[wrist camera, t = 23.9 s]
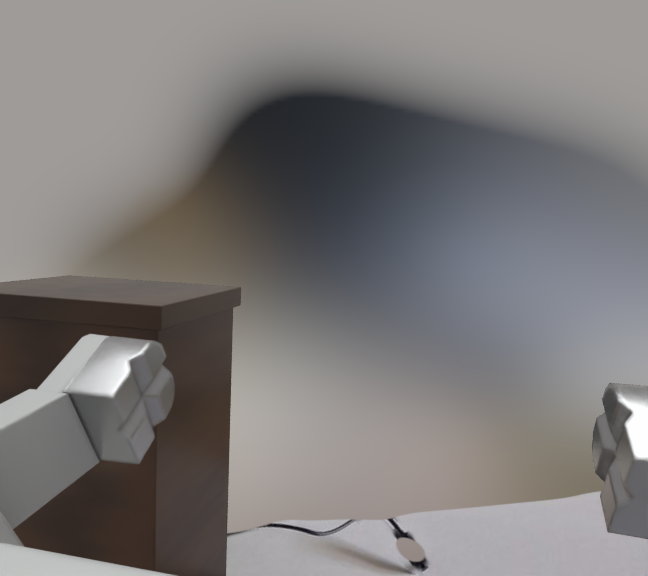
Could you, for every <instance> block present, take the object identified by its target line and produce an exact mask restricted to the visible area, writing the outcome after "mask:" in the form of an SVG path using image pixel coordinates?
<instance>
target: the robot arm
mask: <svg viewBox="0 0 648 576" xmlns="http://www.w3.org/2000/svg"><path fill="white" fill-rule="evenodd" d="M166 357H167V356H166V354H165V351H164V348H163V345H162V344H161V343H159V342H157V341H151V340H142V339H134V338H125V337H117V336H104V335H96V334H88V335H86V336H84V337H82V338H81V339H80V340H79V341H78V343H77V344H76V345H75V346H74V347H73V348H72V349H71V351H70V352H69V353H68V354H67V355H66V356H65V358H64V359H63V360H62V361H61V362H60V363H59V364H58V366H57V367H56V368H55V369H54V370H53V371H52V373H51V374H50V375H49V376H48V377H47V378H46V379H45V381H44V382H43V383H42V384H41V385H40V386H39V387H38V389H37V390H35V389H29V390H27V391H25V392H23V393H21V394H19V395H17V396H15V397H13V398H11V399H9V400H7V401H5V402H3V403H1V404H0V576H176V575H171V574H166V573H160V572H155V571H150V570H144V569H139V568H134V567H129V566H123V565H118V564H113V563H107V562H102V561H97V560H91V559H86V558H81V557H76V556H70V555H65V554H60V553H54V552H49V551H44V550H38V549H33V548H28V547H24V545H23V544H22V542H21V541H20V539H19V538H18V536H17V535H16V534H15V532H14V531H13V529H14V528H16V527H17V526H18V525H19V524H21V523H22V522H23V521H25V520H26V519H27V518H28V517H30V516H31V515H32V514H33V513H35V512H36V511H37V510H39V509H40V508H41V507H42V506H44V505H45V504H46V503H48V502H49V501H50V500H51V499H53V498H54V497H55V496H57V495H58V494H59V493H60V492H62V491H63V490H64V489H66V488H67V487H68V486H69V485H71V484H72V483H73V482H75V481H76V480H77V479H78V478H80V477H81V476H82V475H84V474H85V473H86V472H87V471H89V470H90V469H91V468H93V467H94V466H95V465H96V464H98V463H99V460H106V461H115V462H123V463H132V464H140V462H141V460H142V459H143V457H144V455H145V454H146V452H147V450H148V448H149V447H150V445H151V443H152V442H153V440H154V438H155V434H154V430H153V427H154V426H156V425H157V424H159V423H160V422H162V421H163V420H165V419H166V417H167V415H168V413H169V412H170V410H171V408H172V404H173V400H174V395H175V384H174V379H173V376H172V373H171V372H170V371H169V370H168V369H167V368H166V367H165V366H164V365H163V364H162V363H163V362H164V360H165V358H166ZM602 400H603V405H604V409H605V413H604V414H602V415H600V416H599V417H598V418H597V419H596V423H595V427H594V431H593V442H592V453H593V462H594V468H595V473H596V474H597V475H598V476H599V477H600V478H601V479H602V480H603V481H604V485H603V489H602V492H601V495H600V498H601V503H602V507H603V512H604V517H605V522H606V526H607V531H608V532H609V533H615V534H621V535H627V536H633V537H639V538H645V539H648V386H640V385H629V384H617V383H609V384H608V386H607V387H606V389H605V392H604V395H603V399H602Z"/></svg>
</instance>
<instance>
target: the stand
mask: <svg viewBox="0 0 648 576" xmlns="http://www.w3.org/2000/svg"><path fill="white" fill-rule="evenodd" d="M240 303H241V287H232V286H218V285H202V284H188V283H173V282H157V281H143V280H128V279H113V278H98V277H83V276H61V277H51V278H41V279H31V280H21V281H11V282H1V283H0V404H1V403H3V402H5V401H7V400H9V399H11V398H13V397H15V396H17V395H19V394H21V393H23V392H25V391H27V390H29V389H35V390H37V389H38V387H39V386H40V385H41V384H42V383H43V382H44V381H45V379H46V378H47V377H48V376H49V375H50V374H51V373H52V371H53V370H54V369H55V368H56V367H57V366H58V364H59V363H60V362H61V361H62V360H63V359H64V358H65V356H66V355H67V354H68V353H69V352H70V351H71V349H72V348H73V347H74V346H75V345H76V344H77V343H78V341H79V340H80V339H81V338H82V337H84V336H86V335H88V334H96V335H104V336H117V337H125V338H134V339H142V340H151V341H157V342H159V343H161V344H162V345H163V348H164V351H165V354H166V356H167V357H166V358H165V360H164V362H163V363H162V364H163V365H164V366H165V367H166V368H167V369H168V370H169V371H170V372H171V373H172V376H173V379H174V384H175V395H174V400H173V404H172V408H171V410H170V412H169V413H168V415H167V417H166V419H165V420H163V421H162V422H160V423H159V424H157V425H156V426H154V427H153V430H154V434H155V438H154V440H153V442H152V443H151V445H150V447H149V448H148V450H147V452H146V454H145V455H144V457H143V459H142V460H141V462H140V464H132V463H123V462H115V461H106V460H99V463H98V464H96V465H95V466H94V467H93V468H91V469H90V470H89V471H87V472H86V473H85V474H84V475H82V476H81V477H80V478H78V479H77V480H76V481H75V482H73V483H72V484H71V485H69V486H68V487H67V488H66V489H64V490H63V491H62V492H60V493H59V494H58V495H57V496H55V497H54V498H53V499H51V500H50V501H49V502H48V503H46V504H45V505H44V506H42V507H41V508H40V509H39V510H37V511H36V512H35V513H33V514H32V515H31V516H30V517H28V518H27V519H26V520H25V521H23V522H22V523H21V524H19V525H18V526H17V527H16V528H14V529H13V531H14V532H15V534H16V535H17V536H18V538H19V539H20V541H21V542H22V544H23V545H24V547H28V548H33V549H38V550H44V551H49V552H54V553H60V554H65V555H70V556H76V557H81V558H86V559H91V560H97V561H102V562H107V563H113V564H118V565H123V566H129V567H134V568H139V569H144V570H150V571H155V572H160V573H166V574H171V575H176V576H226V551H227V513H228V474H229V439H230V401H231V364H232V326H233V307H236V306H239V305H240Z"/></svg>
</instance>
